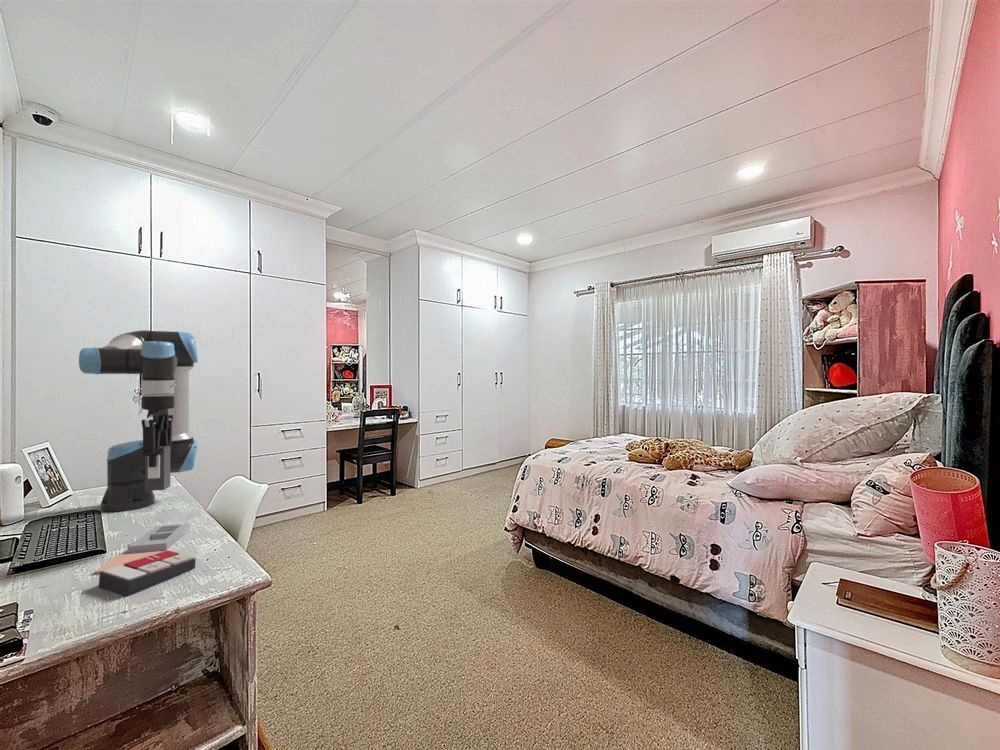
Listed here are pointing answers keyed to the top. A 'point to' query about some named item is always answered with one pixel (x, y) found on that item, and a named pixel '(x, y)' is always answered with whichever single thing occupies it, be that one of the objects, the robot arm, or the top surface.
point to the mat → (123, 560)
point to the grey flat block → (159, 538)
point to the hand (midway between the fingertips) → (158, 475)
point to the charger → (164, 471)
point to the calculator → (145, 572)
